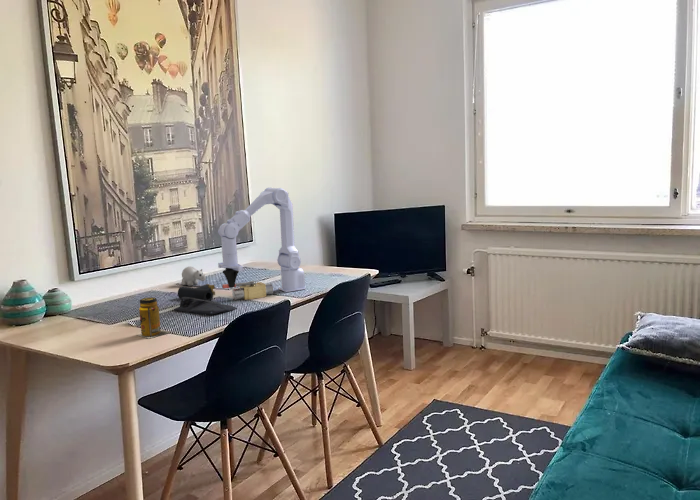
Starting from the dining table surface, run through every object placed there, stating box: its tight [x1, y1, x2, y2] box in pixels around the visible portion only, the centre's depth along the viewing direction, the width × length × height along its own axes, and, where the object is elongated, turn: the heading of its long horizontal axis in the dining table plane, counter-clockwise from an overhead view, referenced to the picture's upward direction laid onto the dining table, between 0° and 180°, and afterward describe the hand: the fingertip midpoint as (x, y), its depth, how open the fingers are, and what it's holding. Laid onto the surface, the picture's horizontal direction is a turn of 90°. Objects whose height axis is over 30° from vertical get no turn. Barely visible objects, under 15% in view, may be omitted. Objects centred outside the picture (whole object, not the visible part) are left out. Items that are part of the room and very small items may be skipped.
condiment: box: [137, 296, 170, 339], centre depth 195 cm, size 7×8×12 cm
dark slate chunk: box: [173, 297, 238, 316], centre depth 226 cm, size 15×22×5 cm
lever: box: [221, 280, 257, 289], centre depth 242 cm, size 13×3×1 cm, turn 111°
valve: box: [231, 281, 274, 301], centre depth 244 cm, size 16×6×5 cm, turn 120°
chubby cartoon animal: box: [181, 266, 207, 287], centre depth 271 cm, size 7×12×8 cm, turn 66°
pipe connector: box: [177, 283, 216, 301], centre depth 246 cm, size 12×5×15 cm
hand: (231, 287), depth 239 cm, fingers closed, pressing on lever
